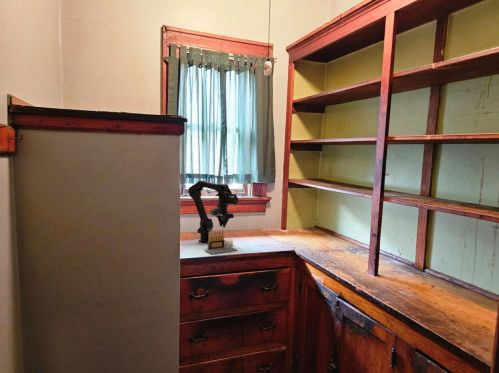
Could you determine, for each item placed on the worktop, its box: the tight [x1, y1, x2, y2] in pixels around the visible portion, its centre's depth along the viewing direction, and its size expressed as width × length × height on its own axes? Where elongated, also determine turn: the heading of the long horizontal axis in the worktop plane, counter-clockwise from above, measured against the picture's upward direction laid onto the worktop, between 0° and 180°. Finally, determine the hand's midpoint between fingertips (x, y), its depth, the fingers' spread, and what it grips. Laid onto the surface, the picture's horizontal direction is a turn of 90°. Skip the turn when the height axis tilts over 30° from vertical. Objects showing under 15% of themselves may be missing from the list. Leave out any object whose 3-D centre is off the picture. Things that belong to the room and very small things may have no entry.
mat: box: [204, 246, 238, 256], centre depth 194 cm, size 9×18×1 cm, turn 124°
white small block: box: [224, 238, 234, 247], centre depth 207 cm, size 6×6×4 cm
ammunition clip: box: [207, 228, 225, 250], centre depth 199 cm, size 11×2×12 cm, turn 121°
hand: (222, 227), depth 206 cm, fingers open, 4 cm apart
